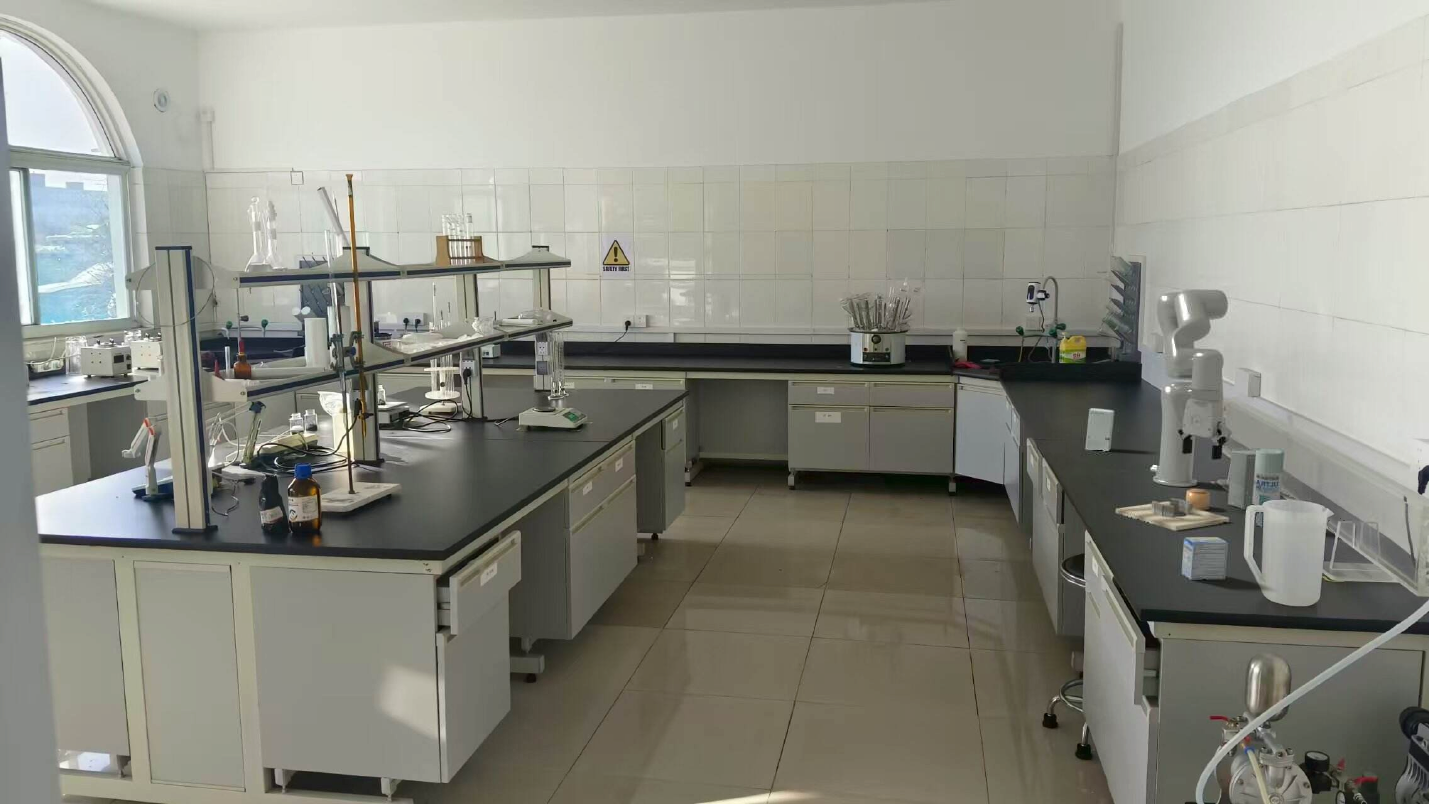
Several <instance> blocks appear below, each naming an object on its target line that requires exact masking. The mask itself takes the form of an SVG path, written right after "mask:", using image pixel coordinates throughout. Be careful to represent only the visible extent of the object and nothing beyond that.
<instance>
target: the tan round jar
mask: <svg viewBox="0 0 1429 804" xmlns="http://www.w3.org/2000/svg"><path fill="white" fill-rule="evenodd" d="M1185 495H1186V496H1185V501H1188V502H1191V503H1192V504H1193V508H1194V509H1198V510H1201V511H1207V509H1208V510H1210V501H1211V499H1210V498H1211V497H1210V496H1211V493H1210V491H1207V490H1206V489H1201V488H1190V489H1188V490H1186V494H1185Z"/></svg>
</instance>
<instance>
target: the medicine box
mask: <svg viewBox="0 0 1429 804" xmlns="http://www.w3.org/2000/svg"><path fill="white" fill-rule="evenodd" d="M1228 546H1229V543H1228V542H1227V541H1225V540H1224V539H1222V538H1220V537H1216V536H1210V537H1208V536H1202V537H1200V536H1197V537H1192V536H1191V537H1188V536H1187V537H1183V547H1182V548H1183V549H1182V550H1183V551H1182V563H1181V575H1182V576H1184V575H1185V576H1186V577H1185V576H1184V577H1185V578H1187V577H1188V578H1189V580H1190V581H1192V580H1194V581H1196V580H1200V581H1201V580H1203V579H1206V580H1226V571H1227V570H1226V569H1227V559H1228ZM1188 578H1187V579H1188Z"/></svg>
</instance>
